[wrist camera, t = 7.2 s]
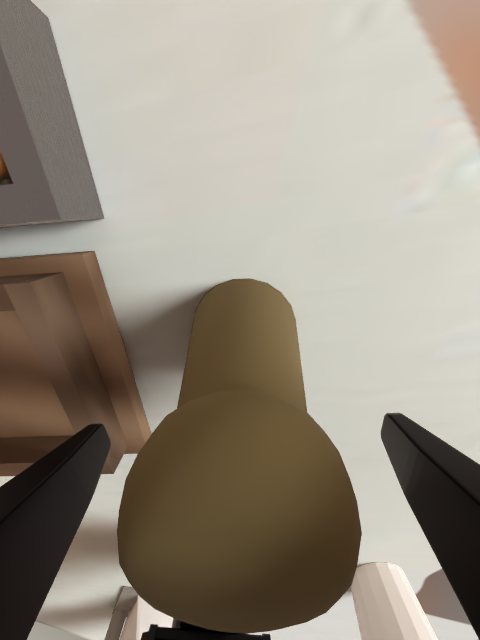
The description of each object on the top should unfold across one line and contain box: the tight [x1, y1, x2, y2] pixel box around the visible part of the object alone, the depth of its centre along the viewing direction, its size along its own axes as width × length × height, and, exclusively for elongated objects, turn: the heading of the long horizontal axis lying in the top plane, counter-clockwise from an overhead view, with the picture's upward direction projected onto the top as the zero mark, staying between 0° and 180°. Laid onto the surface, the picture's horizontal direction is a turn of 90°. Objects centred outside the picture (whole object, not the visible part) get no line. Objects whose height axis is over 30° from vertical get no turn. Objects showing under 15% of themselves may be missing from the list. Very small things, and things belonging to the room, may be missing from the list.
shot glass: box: [351, 562, 438, 640], centre depth 22 cm, size 7×7×7 cm
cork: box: [117, 279, 362, 633], centre depth 9 cm, size 6×6×11 cm
